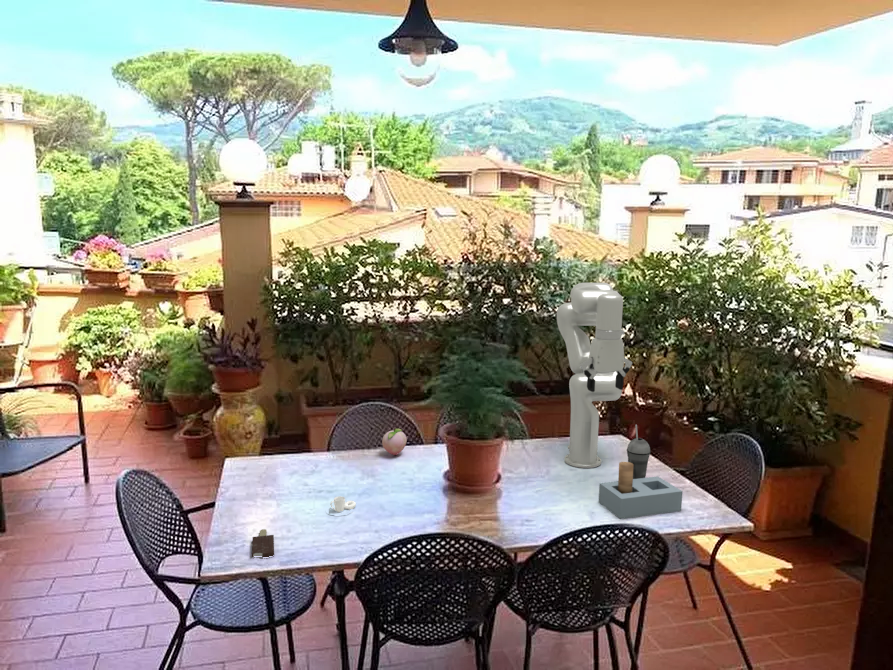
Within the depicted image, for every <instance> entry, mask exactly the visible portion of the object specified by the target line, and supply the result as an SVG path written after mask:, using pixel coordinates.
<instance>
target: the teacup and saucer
mask: <svg viewBox="0 0 893 670" xmlns="http://www.w3.org/2000/svg"><path fill="white" fill-rule="evenodd" d="M332 504H334V506H335V507H334V508H333V507H332V506H333V505H332ZM356 504H357V503H356V501H354V500H348V501H346V498H345V496H335V497H334V498H333V500H332V501H330V506H331V507H332V509H333V511H335V512H336V511H337V512H336V513H341V512H340V511H343V510H350V509H354V508H356ZM343 512H344V511H343Z"/></svg>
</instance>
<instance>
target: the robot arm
mask: <svg viewBox="0 0 893 670" xmlns="http://www.w3.org/2000/svg"><path fill="white" fill-rule="evenodd" d="M623 306H624V298H623V296H622V295H621V294H620V293H619V292H618V291H616V290H614V289H613V287H612V285H611V284H609V283H607V282H579V283H577V284H575V285H574V286H573V287H572V289H571V291H570V302H565V303H563V304H562V303H561V305H559V306H558V308H557V311H556V323H557V327H558V331H559V333H560V335H561V337H562V339H563V340H564V342H565V346H566V347H565V348H566V352H567V359H568V364H569V368H570V369H571V371H572V372H573V373H574V374H573V375H572V376H571V377H570V379H569V384H568V385H569V386H568V387H569V395H570V425H569V426H570V427H569V444H568V445H567V449H568V450H569V451H568V452H569V453H568V454H566V455H565V456H564V458H563V459H564V462H565V464H567V465H569V466H572V467H575V468H580V469H581V468H583V469H591V468H597V467H599V466H601V464H602V459H601V458H600V457H599V456H598V444H599V443H598V442H599V440H598V439H599V424H600V415H599V414H600V413H599V410H598V409H597V408H596V406H595V405H594V403H593V402H604V401H605V402H608V401H609V402H610V401H611V402H612V401H617V400H619V399H620V398H621V396H622V393H623V389H624V383H625V382H624V381H625V377H626V376H627V373H628V372H630V369H631V368H632V365H633V361H631V360H630V359H628V358H625V346H624V341H623V339H622V336H623V335H625V330H624V329H622V323H623V308H624V307H623ZM580 326H586V327H587V326H591V327H592V326H593V327H595V335H594V336H595V337H594V338H592V339H591V340H590V337H589V336H588V335H587V334H586V333H585V331H584V330H582V329H581V328H580Z"/></svg>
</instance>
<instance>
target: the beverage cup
mask: <svg viewBox="0 0 893 670" xmlns="http://www.w3.org/2000/svg"><path fill="white" fill-rule="evenodd" d="M634 429H635V438H633V439H631V440H630V441H629V443H628V445H627V449H626V455H627V462H630V463H632V464H633V479H639V478H647V476H646V475H647V469H648V463H649V460H650V459H649V458H650V454H651V453H652V452H651V447H650V444H649V443H648V441H646V440H645V439H643V438H641V437H639V435H638V425H637V424H635V428H634Z"/></svg>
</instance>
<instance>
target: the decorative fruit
mask: <svg viewBox="0 0 893 670" xmlns="http://www.w3.org/2000/svg"><path fill="white" fill-rule="evenodd" d="M407 439H408V437H407V435H406V434H405V433H404V432H403V430H402V429H400V428H395V427H394V429H393V430H389V431H387V432H386V433H385V434H384V435H383V437H382V441H381V444H382V448H383V449H384V450H385V452H387V453H389V454H391V455H392V456H397V455H398V454H400V453H401V452H402V451H403V450H404V448H405V447H406V445H407V441H408V440H407Z"/></svg>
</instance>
